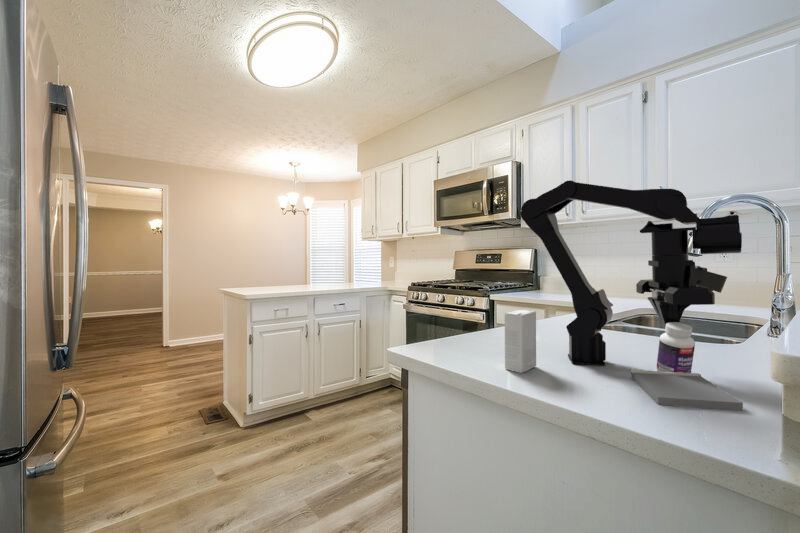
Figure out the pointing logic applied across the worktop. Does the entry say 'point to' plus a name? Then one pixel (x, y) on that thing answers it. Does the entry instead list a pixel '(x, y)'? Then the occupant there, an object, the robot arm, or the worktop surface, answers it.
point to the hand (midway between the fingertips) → (671, 334)
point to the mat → (684, 390)
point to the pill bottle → (676, 348)
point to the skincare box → (520, 340)
